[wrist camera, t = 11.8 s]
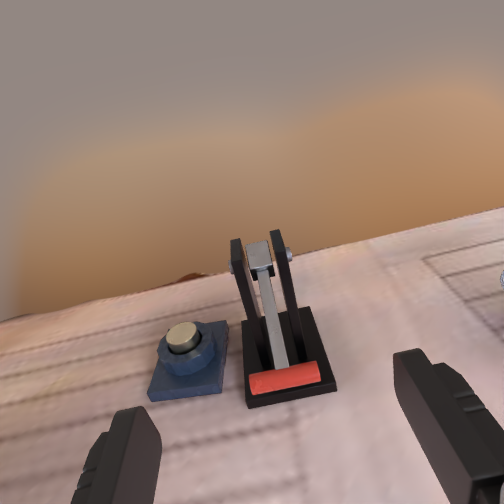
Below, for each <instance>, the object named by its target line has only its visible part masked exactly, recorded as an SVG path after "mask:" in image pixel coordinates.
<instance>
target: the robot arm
mask: <svg viewBox="0 0 504 504" xmlns="http://www.w3.org/2000/svg"><path fill="white" fill-rule="evenodd" d="M393 368H394V388H395V392H396V396H397V399H398V401H399V404H400V406H401V408H402V410H403V412H404V414H405V416H406V418H407V420H408V422H409V424H410V426H411V428H412V430H413V431H414V433H415V435H416V437H417V439H418V441H419V443H420V445H421V447H422V449H423V451H424V453H425V455H426V457H427V459H428V461H429V463H430V465H431V467H432V469H433V470H434V472H435V474H436V476H437V478H438V480H439V482H440V484H441V486H442V488H443V490H444V492H445V494H446V496H447V498H448V500H449V502H450V504H504V430H503V429H502V427H501V426H500V425H499V424H498V422H497V421H496V420H495V418H494V417H493V416H492V414H491V413H490V412H489V410H488V409H486V408H485V405H484V404H483V403H482V401H481V400H480V399H479V397H478V396H477V395H475V393H474V391H473V390H472V388H471V387H470V386H469V384H468V383H467V382H466V380H465V379H464V378H463V376H462V375H461V374H459V373H458V372H456V371H455V370H454V369H452V368H451V367H449V366H448V365H447V364H445V363H444V362H443V363H439V364H434V365H432V364H431V362H430V361H429V359H428V358H427V357H426V355H425V354H424V352H423V351H422V350H421V349H419V348H416V349H412V350H407V351H402V352H397V353H394V354H393ZM161 454H162V441H161V437H160V434H159V432H158V430H157V428H156V427H155V425H154V423H153V422H152V420H151V418H150V417H149V415H148V413H147V412H146V410H145V408H144V407H143V406H138V407H134V408H129V409H124V410H119V411H117V412H116V413H115V415H114V418H113V420H112V423H111V427H110V430H109V431H108V432H103V433H101V435H100V436H99V438H98V439H97V441H96V442H95V444H94V445H93V447H92V448H91V449H90V451H89V454H88V457H87V459H86V462H85V465H84V468H83V473H82V474H81V476H80V479H79V482H78V484H77V490H75V493H74V495H73V498H72V501H71V504H153V501H154V495H155V490H156V484H157V478H158V472H159V466H160V461H161Z"/></svg>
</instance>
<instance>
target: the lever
mask: <svg viewBox="0 0 504 504" xmlns="http://www.w3.org/2000/svg"><path fill="white" fill-rule="evenodd" d="M245 248H246V253H247V259H248V265H249V270H250V273H251V275H252V278H253V281H256V280H258V283H259V288H260V293H261V298H262V303H263V308H264V313H265V318H266V324H267V329H268V334H269V339H270V344H271V349H272V354H273V359H274V364H275V369H273V370H268V371H263V372H258V373H254V374H250V375H249V383H250V388H251V392H252V394H253V395H257V394H262V393H266V392H271V391H276V390H281V389H286V388H290V387H295V386H300V385H305V384H310V383H315V382H319V381H321V378H320V373H319V369H318V365H317V362H316V361H311V362H306V363H301V364H296V365H292V366H289V363H288V358H287V353H286V349H285V344H284V340H283V335H282V331H281V326H280V321H279V317H278V312H277V308H276V303H275V299H274V294H273V289H272V285H271V280H270V277H274V276H275V272H274V267H273V263H272V258H271V254H270V250H269V246H268V241H267V240H265V241H260V242H257V243H252V244H247V245H245Z"/></svg>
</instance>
